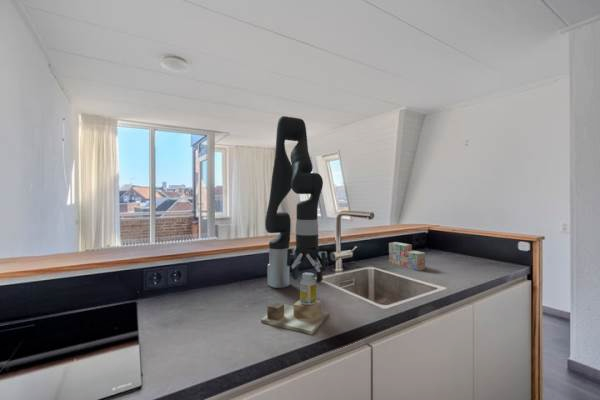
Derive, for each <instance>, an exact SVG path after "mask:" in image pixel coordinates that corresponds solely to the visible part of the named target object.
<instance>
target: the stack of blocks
mask: <svg viewBox="0 0 600 400" xmlns="http://www.w3.org/2000/svg"><path fill="white" fill-rule="evenodd" d="M388 253H389V254H388V256H389V257H388V263H389V262H392V263H391V264H393V263H395V264H394V265H396V264H398V265H397V266H399V265H401V266H400V267H403V266H404V267H403V268H406V267H407V268H406V269H411V270H413V271H416V270H417V272H418V271H424V270H425V269H426V253H425V252H424V251H423V252H422V251H419V250H413V245H412V244H409V243H404V242H398V241H393V242H388ZM423 269H424V270H423Z"/></svg>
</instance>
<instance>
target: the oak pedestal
mask: <svg viewBox="0 0 600 400" xmlns="http://www.w3.org/2000/svg"><path fill="white" fill-rule="evenodd" d="M292 306H294V317H299V318H303V319H308V320H314V319H315V318H316V317H317V316H318V315H319V314H320V313H321V312H322V300H320V299H319V300H318V299H316V303H315V304H312V305H303V304H301V302H300V299H298V301H296V302H295V303H293V305H292Z"/></svg>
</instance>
